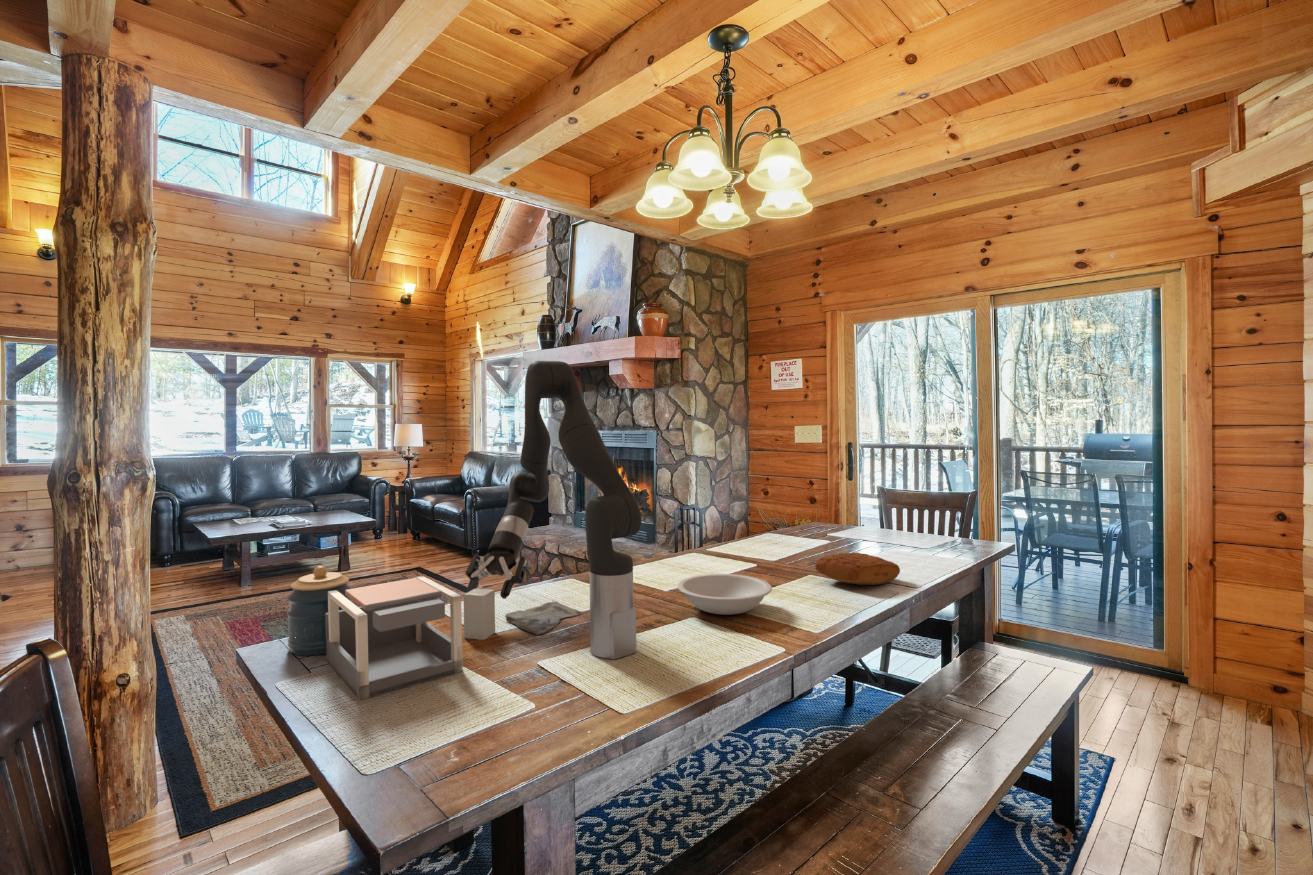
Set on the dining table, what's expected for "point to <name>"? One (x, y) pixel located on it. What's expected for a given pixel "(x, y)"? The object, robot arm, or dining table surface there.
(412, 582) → the trapdoor
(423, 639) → the frame
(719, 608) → the soup bowl
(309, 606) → the canister
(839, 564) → the bread loaf
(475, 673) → the dining table surface
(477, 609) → the beige rectangular block
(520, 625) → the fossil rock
